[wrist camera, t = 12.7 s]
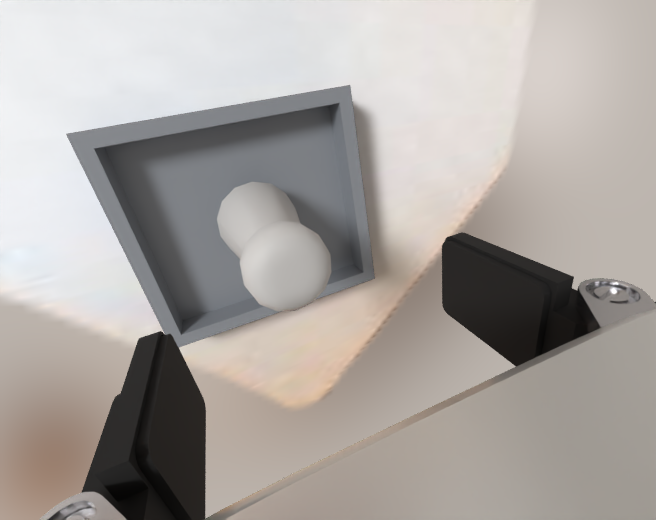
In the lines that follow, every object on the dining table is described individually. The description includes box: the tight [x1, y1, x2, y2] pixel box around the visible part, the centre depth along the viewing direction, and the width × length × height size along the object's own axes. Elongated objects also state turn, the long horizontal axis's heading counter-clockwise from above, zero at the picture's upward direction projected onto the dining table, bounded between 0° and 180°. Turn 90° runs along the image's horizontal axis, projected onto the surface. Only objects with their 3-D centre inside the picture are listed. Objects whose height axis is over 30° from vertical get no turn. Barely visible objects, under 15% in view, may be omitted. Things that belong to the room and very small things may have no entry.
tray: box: [66, 85, 375, 348], centre depth 25 cm, size 18×16×3 cm
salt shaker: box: [217, 182, 331, 311], centre depth 20 cm, size 6×6×13 cm
